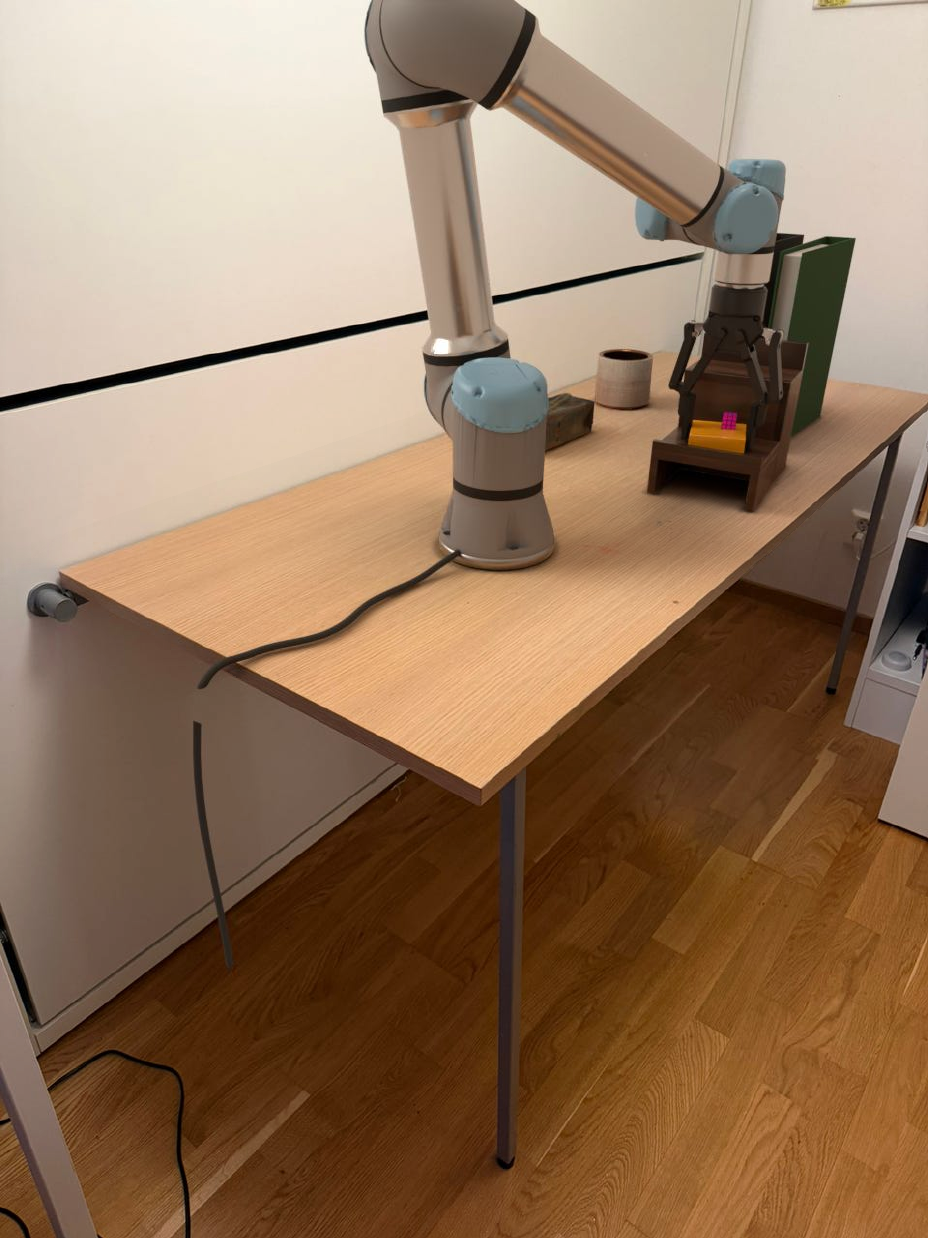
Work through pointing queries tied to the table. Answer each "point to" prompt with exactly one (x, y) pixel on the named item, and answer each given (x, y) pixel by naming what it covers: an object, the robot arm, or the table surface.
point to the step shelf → (733, 393)
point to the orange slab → (719, 434)
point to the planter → (623, 378)
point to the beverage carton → (567, 419)
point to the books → (808, 308)
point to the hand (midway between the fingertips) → (716, 442)
